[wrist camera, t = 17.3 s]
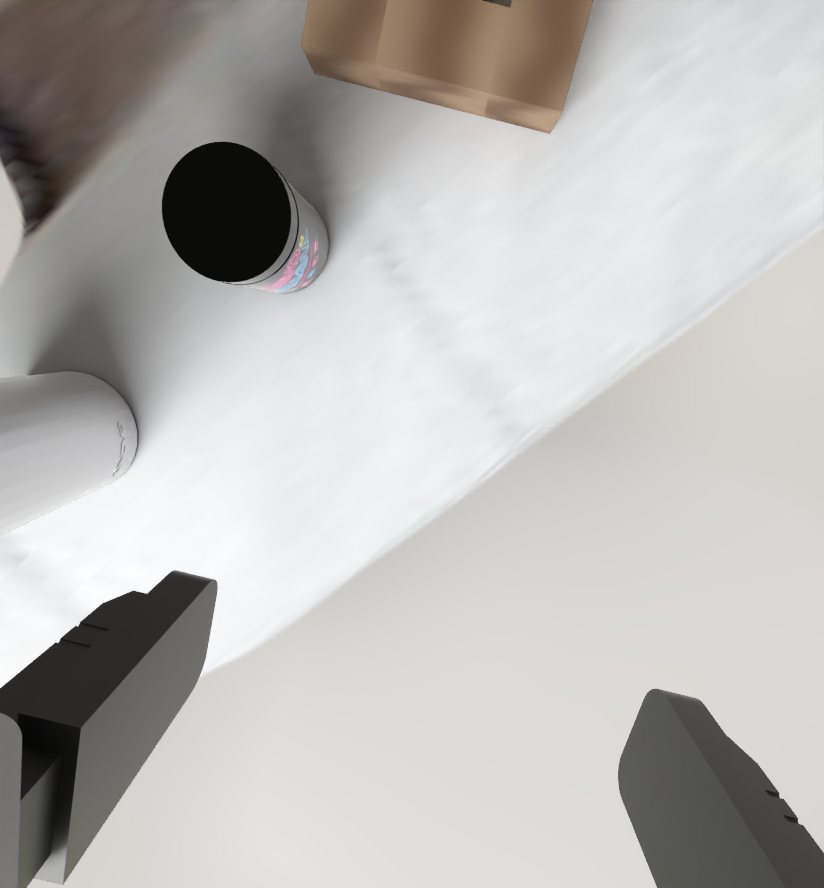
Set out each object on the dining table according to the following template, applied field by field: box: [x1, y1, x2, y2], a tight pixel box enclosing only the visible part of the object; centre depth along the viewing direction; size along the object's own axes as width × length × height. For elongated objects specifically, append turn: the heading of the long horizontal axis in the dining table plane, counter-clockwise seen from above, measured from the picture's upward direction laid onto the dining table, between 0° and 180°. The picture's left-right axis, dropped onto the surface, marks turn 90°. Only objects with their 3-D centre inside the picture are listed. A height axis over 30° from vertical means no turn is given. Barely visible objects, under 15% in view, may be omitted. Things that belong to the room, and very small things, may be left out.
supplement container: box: [162, 142, 329, 294], centre depth 32 cm, size 7×7×10 cm
